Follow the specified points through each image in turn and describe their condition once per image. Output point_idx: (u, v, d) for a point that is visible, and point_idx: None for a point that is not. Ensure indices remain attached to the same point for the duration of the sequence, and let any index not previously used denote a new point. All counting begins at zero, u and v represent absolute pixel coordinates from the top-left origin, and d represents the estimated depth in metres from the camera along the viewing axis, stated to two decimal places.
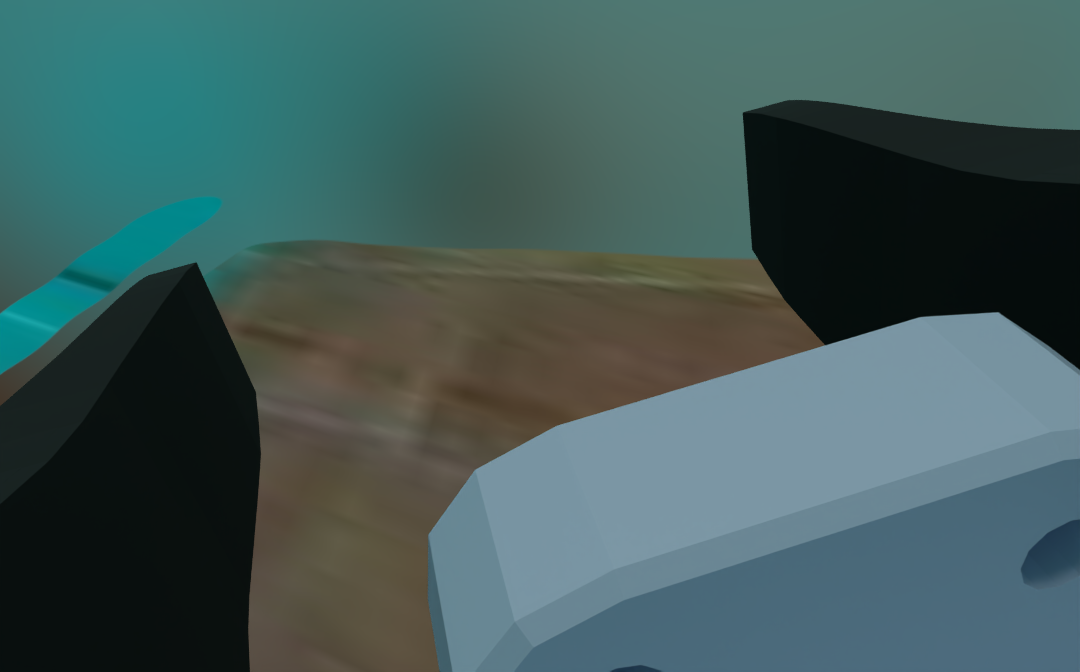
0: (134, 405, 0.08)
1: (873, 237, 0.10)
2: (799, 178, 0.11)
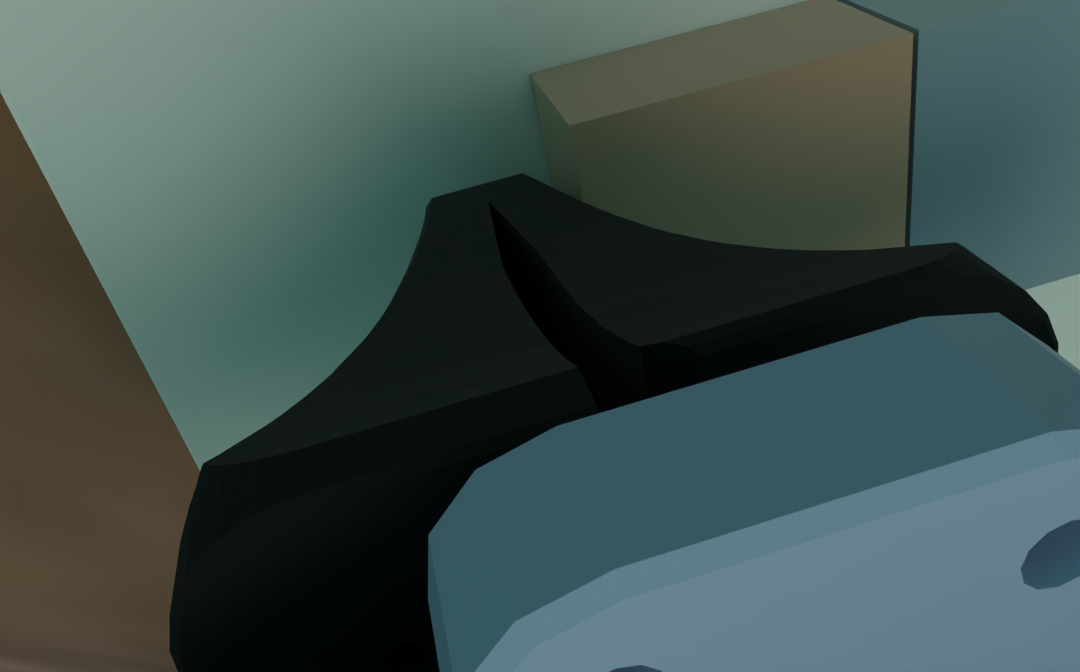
0: None
1: (549, 331, 0.09)
2: (507, 260, 0.10)
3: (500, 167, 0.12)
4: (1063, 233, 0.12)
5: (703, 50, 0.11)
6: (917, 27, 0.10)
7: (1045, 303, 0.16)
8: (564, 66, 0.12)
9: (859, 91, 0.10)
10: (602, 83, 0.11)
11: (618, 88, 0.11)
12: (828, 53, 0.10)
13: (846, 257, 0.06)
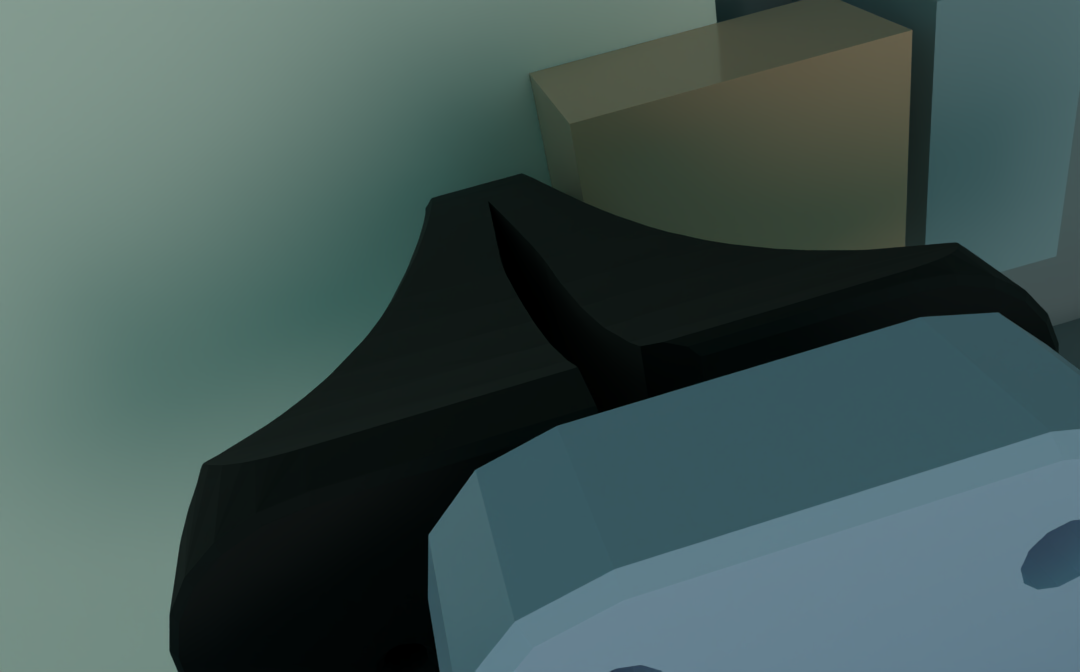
0: None
1: (549, 331, 0.09)
2: (507, 260, 0.10)
3: None
4: None
5: (702, 49, 0.11)
6: None
7: None
8: (563, 65, 0.12)
9: (859, 88, 0.10)
10: (602, 83, 0.11)
11: (618, 87, 0.11)
12: (827, 50, 0.10)
13: (846, 257, 0.06)
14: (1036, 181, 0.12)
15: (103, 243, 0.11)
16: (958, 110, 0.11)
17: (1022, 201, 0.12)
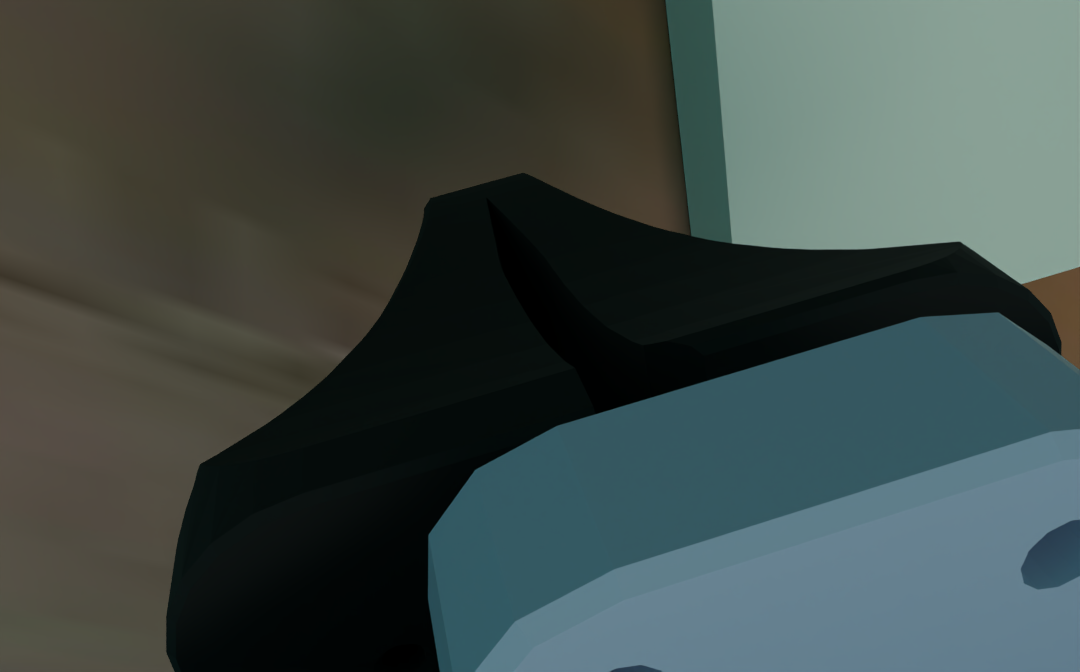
0: None
1: (551, 330, 0.09)
2: (508, 260, 0.10)
3: (951, 4, 0.20)
4: None
5: None
6: None
7: None
8: None
9: None
10: None
11: None
12: None
13: (849, 256, 0.06)
14: None
15: None
16: None
17: None
